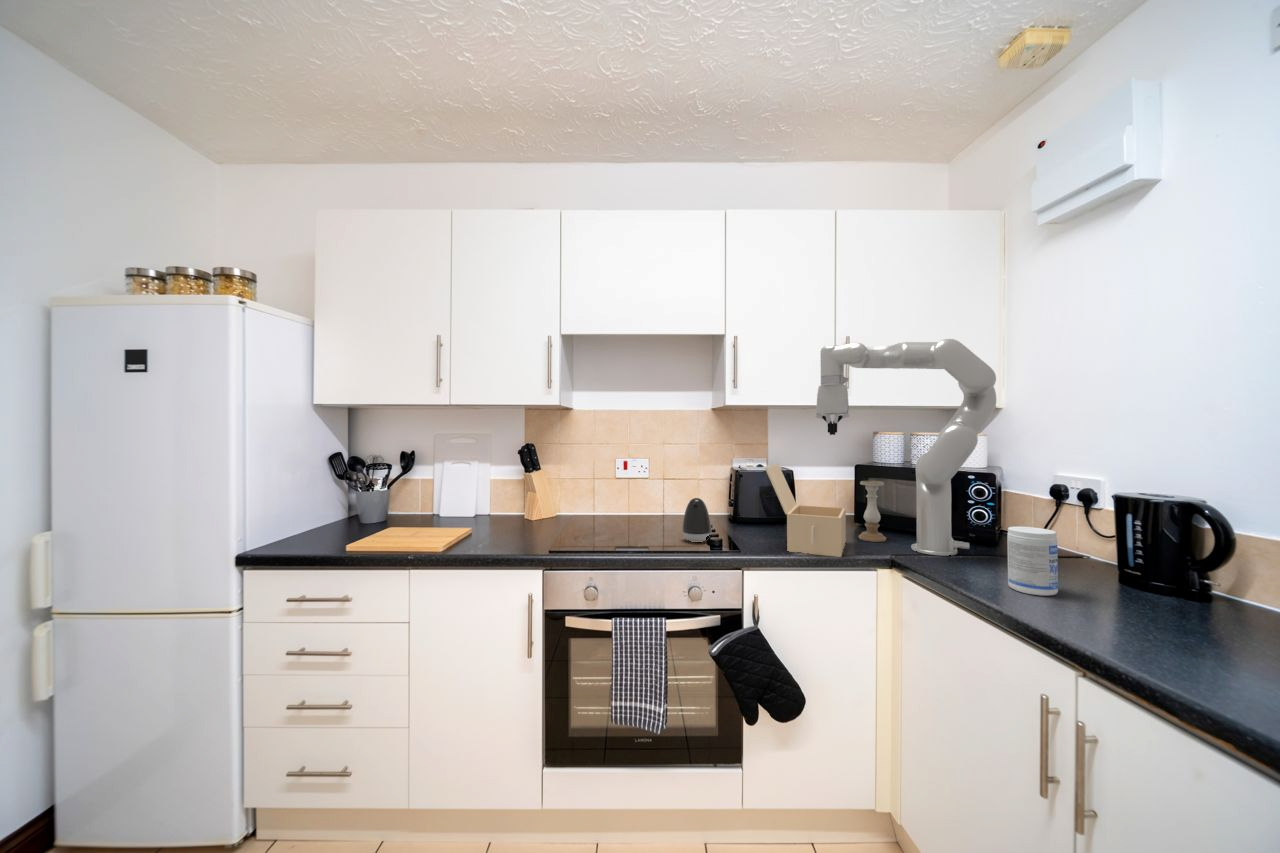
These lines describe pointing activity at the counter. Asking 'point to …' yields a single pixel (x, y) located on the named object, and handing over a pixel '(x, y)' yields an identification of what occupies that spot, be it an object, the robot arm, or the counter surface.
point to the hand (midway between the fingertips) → (832, 434)
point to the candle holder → (872, 514)
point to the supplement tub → (1032, 560)
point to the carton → (816, 530)
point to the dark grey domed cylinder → (696, 521)
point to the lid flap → (781, 488)
